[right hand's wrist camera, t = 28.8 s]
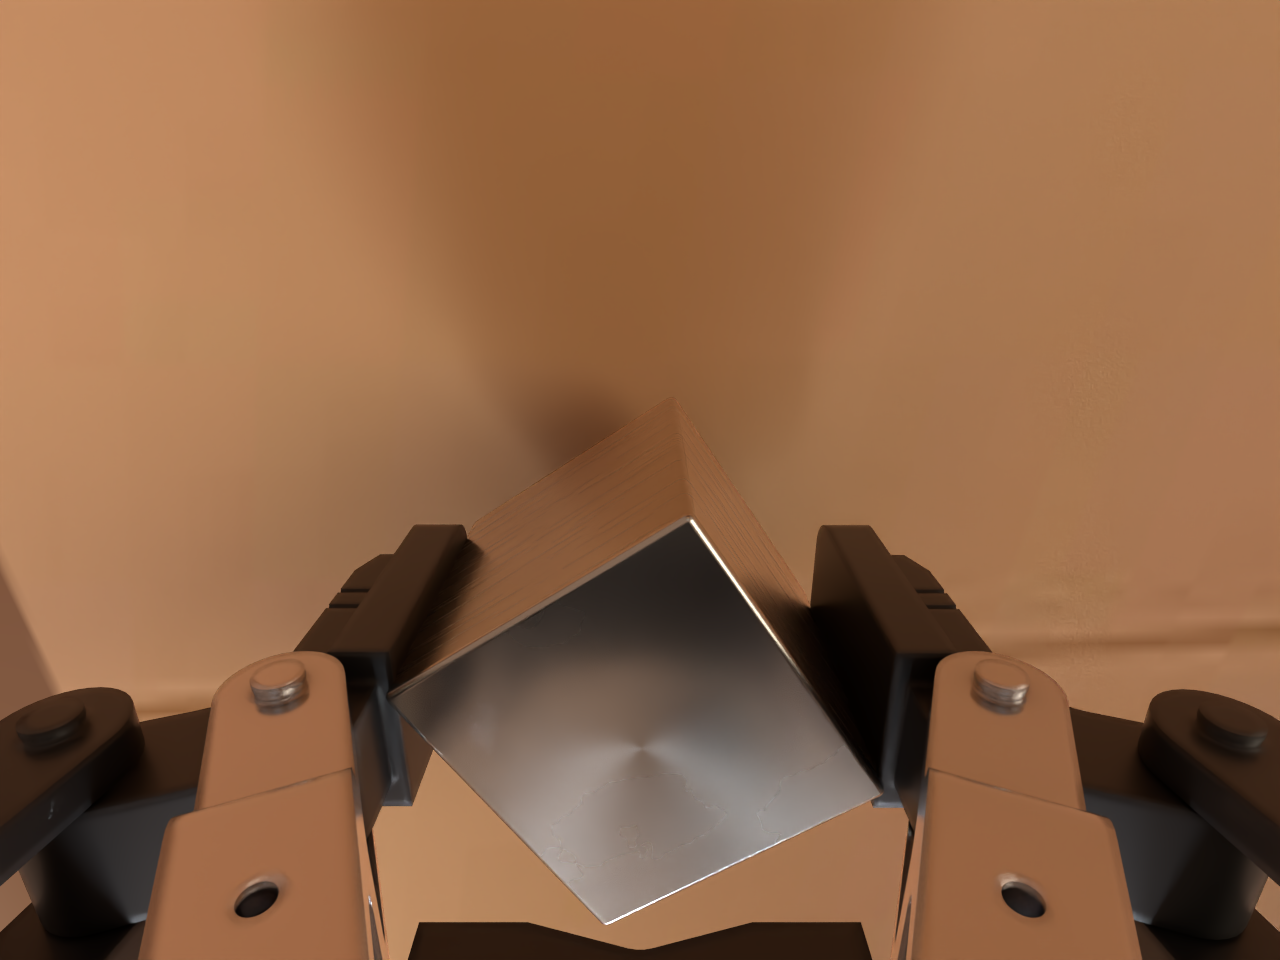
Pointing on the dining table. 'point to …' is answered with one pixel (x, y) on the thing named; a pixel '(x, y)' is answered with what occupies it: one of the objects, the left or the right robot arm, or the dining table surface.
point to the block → (635, 674)
